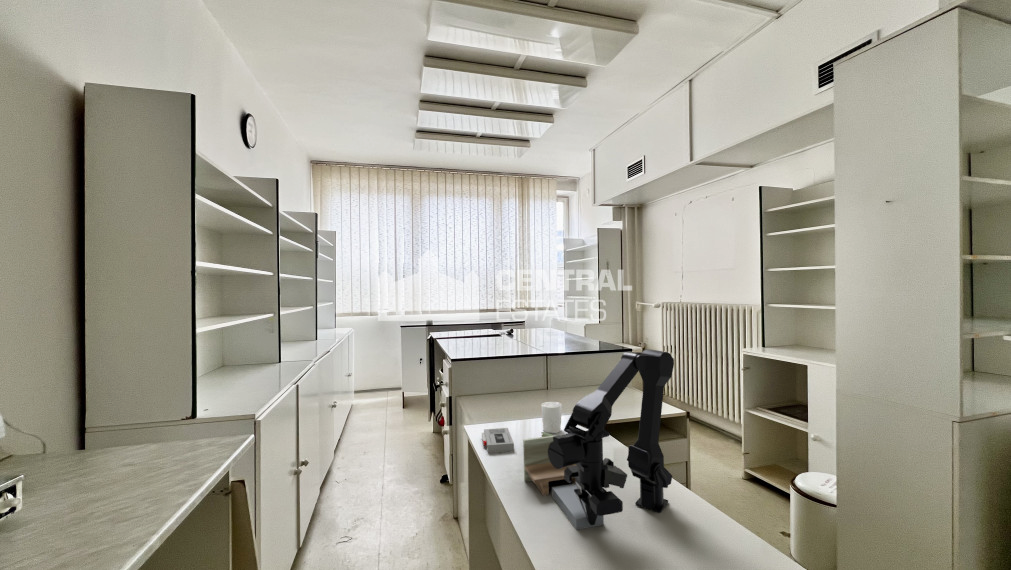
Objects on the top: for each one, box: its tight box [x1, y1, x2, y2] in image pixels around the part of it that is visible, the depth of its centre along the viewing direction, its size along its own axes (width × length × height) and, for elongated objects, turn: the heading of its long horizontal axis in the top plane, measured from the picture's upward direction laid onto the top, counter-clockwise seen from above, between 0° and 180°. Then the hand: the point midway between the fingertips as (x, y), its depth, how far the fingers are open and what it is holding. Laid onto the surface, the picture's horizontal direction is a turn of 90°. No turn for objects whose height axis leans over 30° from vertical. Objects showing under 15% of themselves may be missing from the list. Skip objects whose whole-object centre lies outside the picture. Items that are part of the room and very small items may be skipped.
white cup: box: [541, 401, 563, 434], centre depth 165 cm, size 8×8×10 cm
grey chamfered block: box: [551, 483, 605, 531], centre depth 107 cm, size 16×7×2 cm, turn 14°
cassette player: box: [481, 427, 515, 454], centre depth 153 cm, size 16×3×10 cm
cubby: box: [522, 434, 577, 496], centre depth 121 cm, size 10×16×12 cm, turn 104°
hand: (591, 524), depth 99 cm, fingers closed
